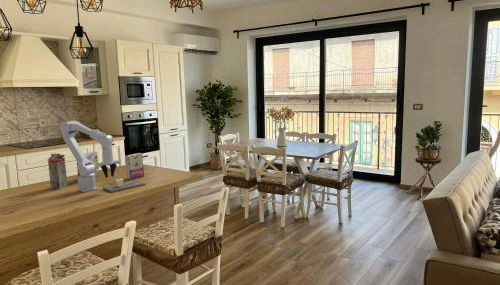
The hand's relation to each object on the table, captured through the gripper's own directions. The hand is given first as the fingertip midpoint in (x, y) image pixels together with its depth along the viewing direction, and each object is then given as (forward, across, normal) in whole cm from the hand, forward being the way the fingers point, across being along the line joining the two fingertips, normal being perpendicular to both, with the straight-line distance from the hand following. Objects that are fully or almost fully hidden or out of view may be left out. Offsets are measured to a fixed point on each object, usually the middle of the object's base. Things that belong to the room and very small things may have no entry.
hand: (109, 176), depth 218 cm
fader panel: (+8, +9, 0) cm, 12 cm away
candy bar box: (+9, +26, +18) cm, 33 cm away
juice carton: (+9, -19, +32) cm, 38 cm away
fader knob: (+7, +6, 0) cm, 9 cm away
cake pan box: (+9, +3, +41) cm, 42 cm away
